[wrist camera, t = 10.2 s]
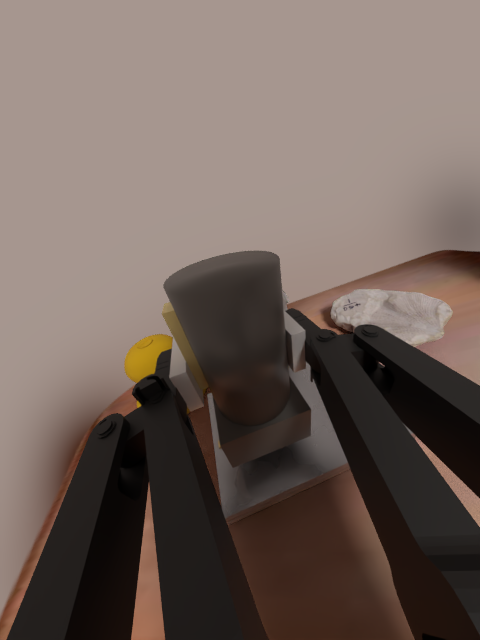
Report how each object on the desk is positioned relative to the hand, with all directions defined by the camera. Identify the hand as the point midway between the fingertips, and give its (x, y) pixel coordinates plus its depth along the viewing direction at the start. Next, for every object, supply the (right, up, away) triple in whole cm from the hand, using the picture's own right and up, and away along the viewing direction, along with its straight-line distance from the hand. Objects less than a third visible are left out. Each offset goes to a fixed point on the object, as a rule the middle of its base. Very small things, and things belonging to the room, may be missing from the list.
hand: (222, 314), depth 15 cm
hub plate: (+6, -9, +2) cm, 11 cm away
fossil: (+19, -2, +8) cm, 21 cm away
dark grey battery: (+3, -7, -1) cm, 8 cm away
